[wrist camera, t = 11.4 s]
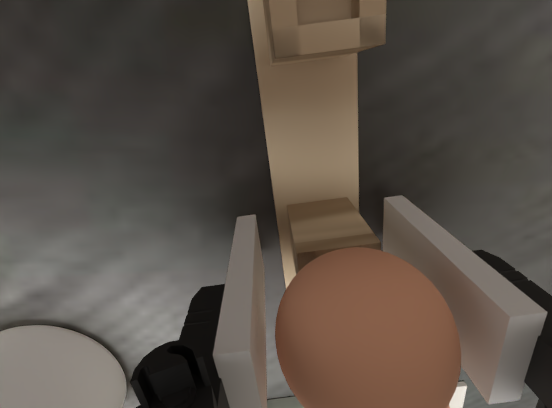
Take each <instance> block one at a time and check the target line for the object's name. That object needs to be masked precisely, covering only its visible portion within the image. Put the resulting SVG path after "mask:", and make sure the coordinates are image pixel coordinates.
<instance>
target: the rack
mask: <svg viewBox="0 0 552 408" xmlns="http://www.w3.org/2000/svg"><path fill="white" fill-rule="evenodd" d="M247 1H248V8H249V16H250V23H251V31H252V38H253V46H254V53H255V61H256V68H257V75H258V83H259V90H260V98H261V105H262V113H263V120H264V128H265V135H266V143H267V150H268V158H269V165H270V172H271V180H272V187H273V195H274V202H275V210H276V217H277V225H278V232H279V240H280V247H281V254H282V262H283V269H284V277H285V284H286V288H287V287H288V285H289V284H290V282H291V281H292V279H293V278H294V277H295V276H296V274H297V273H298V272H299V271H300V270H301V269H302V268H303V267H304V266H305V265H307V264H308V263H310V262H311V261H312V260H314V259H316V258H317V257H319V256H321V255H323V254H326V253H328V252H331V251H334V250H338V249H344V248H352V247H363V248H371V249H376V250H381V242H380V241H379V239H378V238H377V237H376V235H375V234H374V233H373V231H372V230H371V228H370V227H369V226H368V224H367V223H366V222H365V220H364V219H363V218H362V216H361V215H360V214H359V167H358V75H357V52H360V51H363V50H366V49H370V48H373V47H376V46H380V45H383V44H385V36H386V0H247Z"/></svg>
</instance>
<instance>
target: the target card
mask: <svg viewBox="0 0 552 408" xmlns="http://www.w3.org/2000/svg"><path fill="white" fill-rule="evenodd" d="M466 388H467V385H466V384H465V382H464V381H461V382H458V384H457V387H456V390H455V393H454V395H453V397H452V399H451V401H450V403H449V405H448V406H447V408H463V403H464V398H465V393H466Z"/></svg>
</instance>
